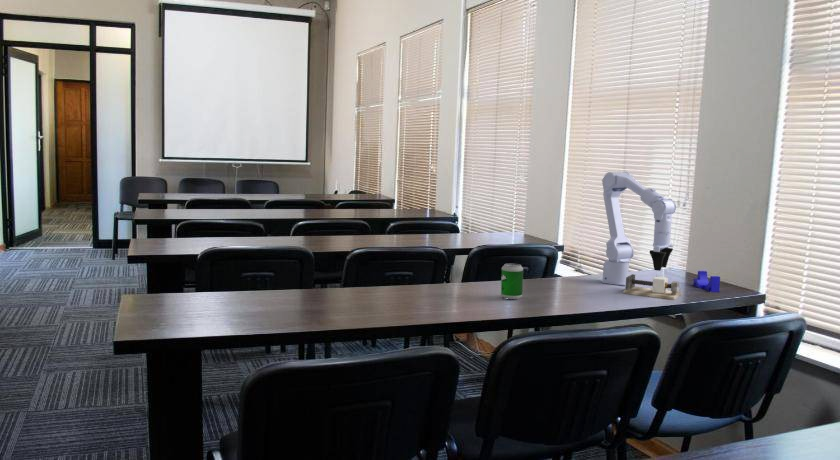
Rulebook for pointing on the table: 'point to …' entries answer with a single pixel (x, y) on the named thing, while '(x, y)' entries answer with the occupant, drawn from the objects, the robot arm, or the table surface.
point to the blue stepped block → (707, 282)
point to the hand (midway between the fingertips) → (660, 268)
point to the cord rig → (648, 291)
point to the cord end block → (659, 284)
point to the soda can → (512, 281)
